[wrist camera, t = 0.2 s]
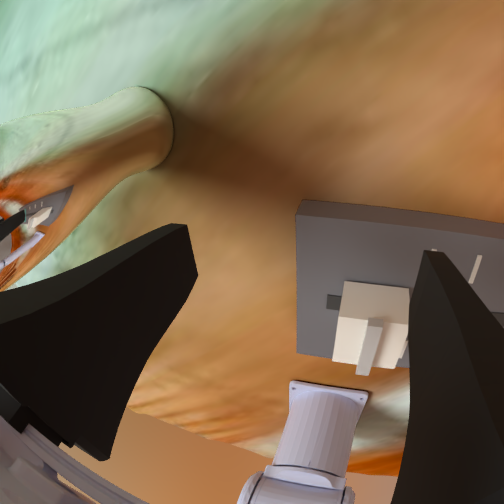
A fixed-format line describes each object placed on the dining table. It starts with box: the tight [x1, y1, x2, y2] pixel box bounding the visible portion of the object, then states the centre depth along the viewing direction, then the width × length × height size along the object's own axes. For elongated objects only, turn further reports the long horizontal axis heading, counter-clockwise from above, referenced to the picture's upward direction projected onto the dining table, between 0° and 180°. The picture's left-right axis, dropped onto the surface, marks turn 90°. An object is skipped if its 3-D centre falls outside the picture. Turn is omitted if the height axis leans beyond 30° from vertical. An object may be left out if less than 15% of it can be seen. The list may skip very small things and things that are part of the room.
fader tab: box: [332, 281, 410, 376], centre depth 17 cm, size 4×4×4 cm
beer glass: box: [0, 87, 174, 292], centre depth 14 cm, size 7×7×15 cm
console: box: [295, 200, 504, 368], centre depth 18 cm, size 12×22×2 cm, turn 96°
